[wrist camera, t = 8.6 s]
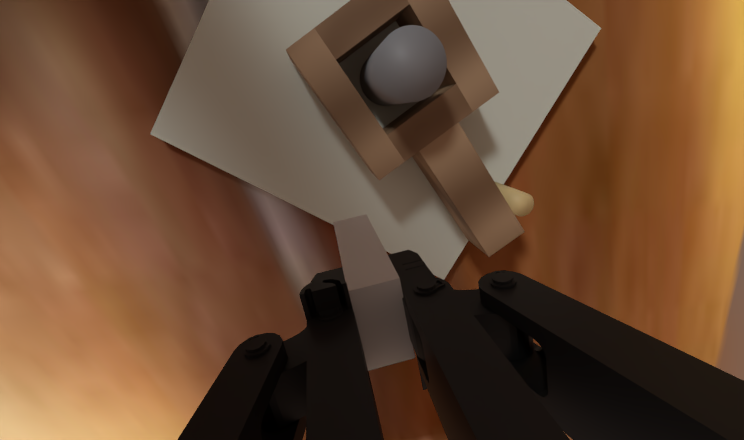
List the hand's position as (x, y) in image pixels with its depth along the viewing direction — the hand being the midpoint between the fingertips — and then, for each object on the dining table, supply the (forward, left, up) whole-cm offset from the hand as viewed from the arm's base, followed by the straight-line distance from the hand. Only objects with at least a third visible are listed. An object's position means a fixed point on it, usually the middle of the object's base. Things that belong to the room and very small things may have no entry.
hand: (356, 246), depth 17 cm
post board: (-1, +9, -13) cm, 16 cm away
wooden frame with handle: (+3, +7, -12) cm, 14 cm away
